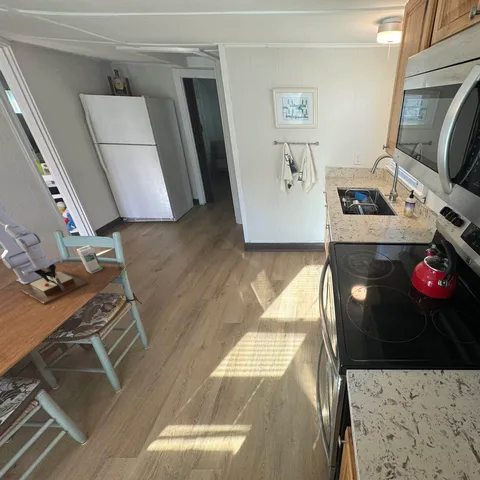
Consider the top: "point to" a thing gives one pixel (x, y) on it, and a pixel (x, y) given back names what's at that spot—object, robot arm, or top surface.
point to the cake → (52, 284)
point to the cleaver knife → (50, 277)
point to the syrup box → (89, 259)
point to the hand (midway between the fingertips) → (51, 279)
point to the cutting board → (53, 296)
